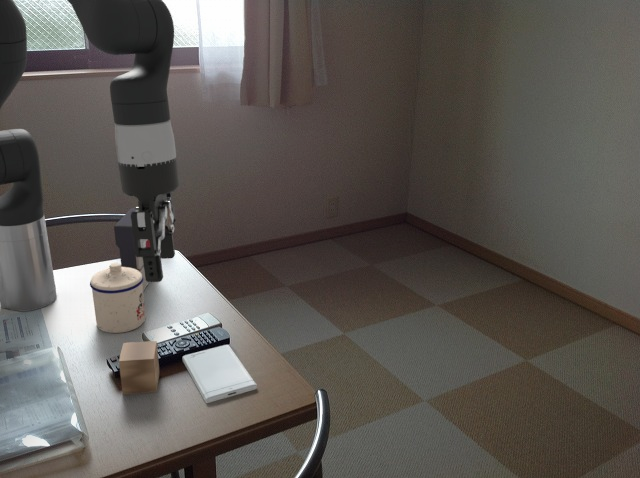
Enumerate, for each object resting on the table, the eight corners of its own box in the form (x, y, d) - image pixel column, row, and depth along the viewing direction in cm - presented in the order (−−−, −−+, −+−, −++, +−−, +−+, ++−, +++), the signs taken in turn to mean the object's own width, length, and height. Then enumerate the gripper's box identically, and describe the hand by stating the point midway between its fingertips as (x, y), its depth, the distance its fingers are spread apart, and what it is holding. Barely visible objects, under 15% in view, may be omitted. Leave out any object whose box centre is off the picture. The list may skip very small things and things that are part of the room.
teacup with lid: (150, 329, 106) (145, 271, 102) (97, 338, 103) (89, 279, 99) (141, 299, 117) (135, 245, 112) (92, 307, 113) (85, 252, 109)
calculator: (142, 296, 118) (136, 227, 112) (121, 296, 118) (113, 226, 112) (157, 273, 128) (152, 208, 122) (137, 272, 128) (131, 207, 122)
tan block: (122, 394, 89) (118, 361, 87) (127, 375, 94) (123, 342, 91) (156, 392, 90) (153, 358, 88) (159, 372, 94) (156, 340, 92)
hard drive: (182, 355, 97) (205, 397, 87) (229, 343, 101) (257, 382, 91) (182, 363, 98) (206, 406, 88) (229, 351, 102) (257, 391, 92)
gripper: (132, 146, 84) (146, 252, 90) (102, 169, 71) (120, 291, 77) (184, 145, 85) (195, 250, 90) (164, 166, 71) (178, 288, 77)
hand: (161, 268), depth 83 cm, fingers open, 8 cm apart
